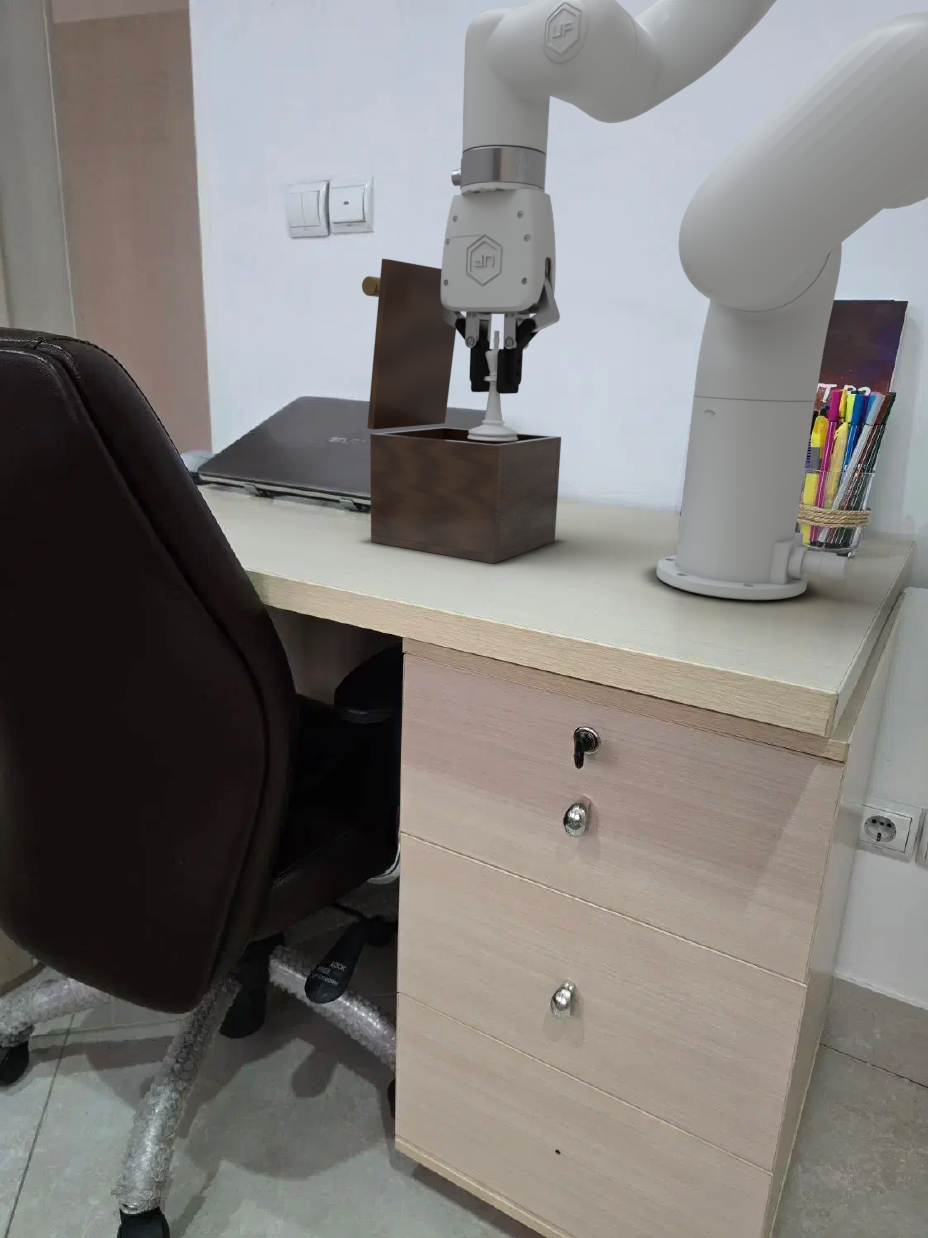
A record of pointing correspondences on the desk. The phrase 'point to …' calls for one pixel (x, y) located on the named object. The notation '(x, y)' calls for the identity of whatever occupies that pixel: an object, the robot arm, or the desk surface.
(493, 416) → the chess piece
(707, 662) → the desk surface
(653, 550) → the desk surface
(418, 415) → the lid
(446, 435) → the box
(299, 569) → the desk surface
